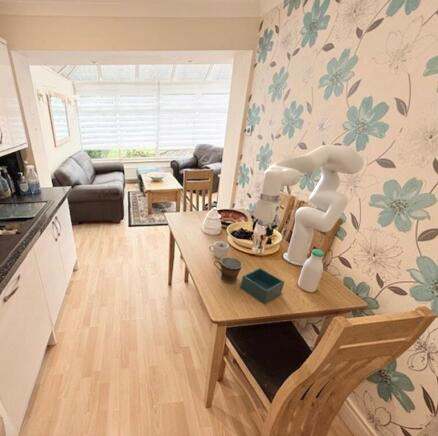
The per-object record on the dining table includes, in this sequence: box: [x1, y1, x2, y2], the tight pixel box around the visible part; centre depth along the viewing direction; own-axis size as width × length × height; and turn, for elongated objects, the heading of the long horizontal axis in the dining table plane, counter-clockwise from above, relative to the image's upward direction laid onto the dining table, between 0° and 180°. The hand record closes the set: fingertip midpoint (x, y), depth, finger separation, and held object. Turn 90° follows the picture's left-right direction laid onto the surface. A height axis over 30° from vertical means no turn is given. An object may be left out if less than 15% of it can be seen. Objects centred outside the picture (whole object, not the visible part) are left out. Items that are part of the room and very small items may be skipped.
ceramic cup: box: [213, 256, 243, 284], centre depth 118 cm, size 13×10×10 cm
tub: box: [240, 267, 285, 305], centre depth 111 cm, size 13×13×7 cm
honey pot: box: [201, 206, 223, 236], centre depth 166 cm, size 13×13×18 cm
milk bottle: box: [297, 248, 325, 293], centre depth 110 cm, size 8×8×20 cm
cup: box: [208, 240, 230, 260], centre depth 138 cm, size 11×8×8 cm
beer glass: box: [250, 220, 270, 255], centre depth 114 cm, size 7×7×15 cm
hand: (261, 232), depth 113 cm, fingers closed on beer glass, 7 cm apart
